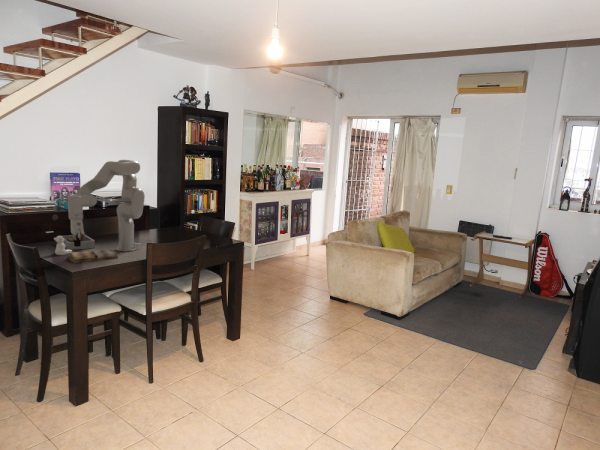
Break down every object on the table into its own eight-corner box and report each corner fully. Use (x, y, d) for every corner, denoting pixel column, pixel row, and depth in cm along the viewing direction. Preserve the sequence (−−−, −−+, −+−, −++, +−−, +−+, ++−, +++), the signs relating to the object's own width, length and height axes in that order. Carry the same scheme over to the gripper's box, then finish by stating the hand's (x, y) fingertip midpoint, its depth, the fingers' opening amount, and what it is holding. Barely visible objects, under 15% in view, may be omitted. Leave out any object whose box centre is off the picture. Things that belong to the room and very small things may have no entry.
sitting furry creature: (72, 252, 274) (72, 234, 272) (65, 256, 265) (65, 237, 263) (57, 252, 273) (56, 233, 271) (50, 255, 265) (49, 236, 263)
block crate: (84, 241, 307) (84, 234, 307) (94, 247, 290) (94, 240, 289) (59, 243, 297) (59, 236, 296) (68, 250, 279) (68, 242, 278)
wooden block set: (68, 251, 285) (72, 238, 282) (60, 244, 288) (64, 231, 285) (92, 247, 301) (96, 235, 298) (84, 241, 304) (88, 229, 301)
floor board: (110, 253, 277) (110, 248, 277) (117, 258, 267) (117, 253, 267) (67, 258, 261) (67, 253, 260) (73, 263, 251) (73, 258, 250)
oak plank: (89, 253, 268) (89, 251, 268) (95, 257, 259) (95, 255, 259) (70, 255, 261) (69, 252, 260) (75, 259, 252) (75, 256, 252)
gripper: (86, 217, 251) (87, 248, 254) (79, 213, 262) (80, 242, 265) (72, 218, 246) (73, 249, 249) (65, 214, 257) (67, 244, 260)
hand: (77, 246), depth 257 cm, fingers closed
